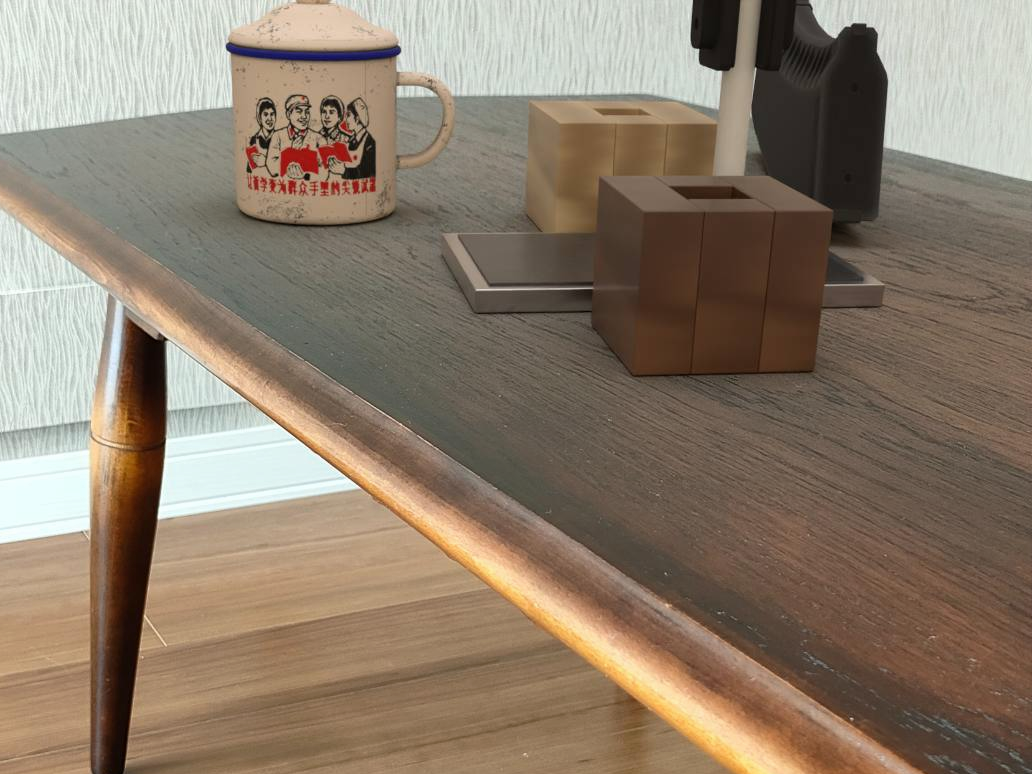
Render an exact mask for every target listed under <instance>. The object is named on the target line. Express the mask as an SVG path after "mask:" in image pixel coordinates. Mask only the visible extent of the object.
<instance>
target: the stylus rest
mask: <svg viewBox="0 0 1032 774" xmlns="http://www.w3.org/2000/svg"><path fill="white" fill-rule="evenodd" d="M832 219H833V210H831V209H829V208H828V207H826V206H824V205H822V204H820V203H818V202H816V201H814V200H813V199H811V198H809V197H807V196H805V195H803V194H801V193H800V192H798V191H796V190H794V189H792V188H790V187H788V186H787V185H785V184H783V183H781V182H779V181H777V180H775V179H773V178H772V177H770V176H769V175H744V176H600V177H599V189H598V207H597V225H596V242H595V260H594V278H593V296H592V311H591V317H590V318H591V319H590V325H591V326H592V327H593V328H594V329H595V331H596V332H597V334H599V336H600V337H601V338H602V340H604V342H605V343H606V344H607V345H608V347H609V348H610V349H611V351H613V353H614V354H615V356H616V357H617V358H618V359H619V360H620V361H621V363H622V364H623V365H624V366H625V367H626V369H627V370H628V371H629V373H631V375H632V376H671V375H672V376H673V375H690V374H691V375H707V374H709V375H710V374H711V375H712V374H716V375H717V374H753V373H754V374H755V373H791V372H792V373H793V372H794V373H795V372H797V373H798V372H814V371H815V367H816V366H815V365H816V359H817V358H816V357H817V350H818V343H819V342H818V341H819V333H820V325H821V316H822V310H823V307H822V301H823V293H824V285H825V277H826V269H827V260H828V252H829V251H830V242H831V236H832V235H831V234H832V228H833V223H832Z"/></svg>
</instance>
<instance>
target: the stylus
mask: <svg viewBox="0 0 1032 774" xmlns="http://www.w3.org/2000/svg"><path fill="white" fill-rule="evenodd" d="M761 2H762V0H741V2H740V13H739V25H738V36H737V48H736V59H735V66H734V67H733V68H730V70H729V71H721V81H720V91H719V103H718V104H719V105H718V111H717V112H718V116H717V122H718V123H717V134H716V145H715V155H714V166H713V176H745V170H746V161H747V160H746V159H747V150H748V139H749V130H750V121H751V104H752V96H753V89H754V82H755V74H756V68H755V62H756V52H757V42H758V32H759V22H760V12H761Z"/></svg>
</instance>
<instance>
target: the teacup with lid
mask: <svg viewBox="0 0 1032 774" xmlns="http://www.w3.org/2000/svg"><path fill="white" fill-rule="evenodd" d="M331 1H332V0H295V1H293V2H286V3H282V4H280V5H276V6H275V7H273V8H272V9H270V10H269V11H268V12H267V13H265V14H264V15H263V16H261V17H260V18H259V19H257V20H255V21H252V22H251V23H249V24H244V25H241V26H237V27H236V28H233V29H232V30H231V31H230V33H229V35H228V37H227V41H228V42H227V43H226V44H225V50H226V51H227V52H228V53H230V70H231V91H232V92H231V93H232V117H233V139H234V163H235V187H236V188H235V189H236V202H237V206H238V209H239V210H240V211H241V212H243V213H244V214H245V215H247V216H249V217H252V218H256V219H258V220H263V221H267V222H273V223H279V224H280V223H281V224H289V225H290V224H291V225H302V226H303V225H307V226H329V225H331V226H334V225H350V224H357V223H365V222H370V221H375V220H378V219H381V218H384V217H387V216H389V215H390V214H391V213H392V212H393V211H394V210H395V209H396V206H397V170H410V169H417V168H420V167H423V166H426V165H428V164H430V163H431V162H433V161H434V160H435V159H437V158H438V157H439V156H440V155H441V154H442V152H443V151H444V150H445V148H446V147H447V146H448V143H449V142H450V139H451V137H452V135H453V131H454V128H455V124H456V114H457V112H456V103H455V99H454V97H453V96H454V95H453V94H452V92H451V91H450V89H449V88H448V86H447V85H446V84H445V83H444V82H443V81H442V80H441V79H439V78H437V77H436V76H434V75H432V74H430V73H426V72H421V71H397V67H398V66H397V63H398V59H397V58H398V57H397V56H399V55H401V53H402V48H401V46H400V45H399V44H400V40H399V38H398V36H397V35H396V33H395V32H392V31H391V30H389V29H386V28H382V27H380V26H378V25H375V24H373V23H371V22H370V21H368V20H366V19H365V18H364V17H362V16H361V15H360V14H358V13H357V11H355V10H353V9H352V8H350V7H348V6H346V5H344V4H339V3H335V2H331ZM398 87H421V88H425V89H427V90H429V91H431V92H433V93H434V94H435V95H436V96H437V97H438V98H439V100H440V102H441V105H442V110H443V111H442V112H443V113H442V121H441V125H440V128H439V131H438V132H437V134H436V136H435V138H434V139H433V141H432V142H431V143H429V145H428V146H427V147H425V148H424V149H422V150H420V151H417V152H414V153H407V154H397V145H398V144H397V139H398V138H397V136H398V135H397V130H398V129H397V126H398V125H397V117H398V116H397V115H398V114H397V107H398V106H397V104H398V103H397V102H398V101H397V97H398V96H397V93H398V91H397V88H398Z"/></svg>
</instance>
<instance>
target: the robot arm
mask: <svg viewBox="0 0 1032 774" xmlns="http://www.w3.org/2000/svg"><path fill="white" fill-rule="evenodd" d="M740 2H741V0H692V3H691V4H692V5H691V6H692V7H691V19H690V33H689V35H690V37H689V38H690V46H691V47H692V48H693V49H695V50H698V63H699V65H700V66H702V67H704V68H708V69H710V70H713V71H716V72H722V71H729V70H730V68H733V67H734V66H735V59H736V48H737V36H738V25H739V13H740ZM796 2H797V0H762V2H761V12H760V22H759V32H758V42H757V52H756V62H755V69H756V68H758V69H761V70H764V71H779V70H780V67H781V61H782V51H783V50H788V49H789V48H790V46H791V44H792V40H793V31H794V22H795V12H796Z"/></svg>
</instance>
